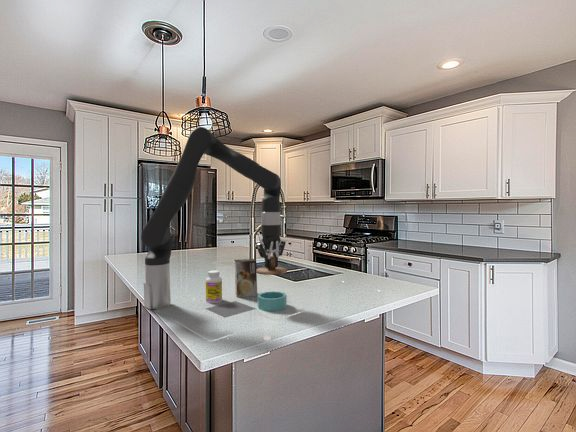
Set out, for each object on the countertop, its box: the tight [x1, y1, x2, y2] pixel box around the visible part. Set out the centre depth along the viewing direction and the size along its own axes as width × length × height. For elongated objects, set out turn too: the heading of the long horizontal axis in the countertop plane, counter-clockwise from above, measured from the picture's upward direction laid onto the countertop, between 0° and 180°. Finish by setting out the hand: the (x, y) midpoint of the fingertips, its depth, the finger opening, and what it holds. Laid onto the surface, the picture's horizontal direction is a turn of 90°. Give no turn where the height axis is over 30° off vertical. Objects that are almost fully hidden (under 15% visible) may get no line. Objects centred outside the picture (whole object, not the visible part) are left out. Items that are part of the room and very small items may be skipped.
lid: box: [256, 255, 288, 276], centre depth 128 cm, size 12×12×6 cm
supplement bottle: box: [205, 269, 223, 304], centre depth 137 cm, size 7×7×13 cm
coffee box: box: [234, 258, 258, 298], centre depth 146 cm, size 9×6×16 cm
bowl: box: [257, 290, 288, 312], centre depth 128 cm, size 11×11×5 cm
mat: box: [204, 300, 256, 318], centre depth 126 cm, size 14×14×1 cm
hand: (271, 267), depth 128 cm, fingers closed on lid, 3 cm apart
